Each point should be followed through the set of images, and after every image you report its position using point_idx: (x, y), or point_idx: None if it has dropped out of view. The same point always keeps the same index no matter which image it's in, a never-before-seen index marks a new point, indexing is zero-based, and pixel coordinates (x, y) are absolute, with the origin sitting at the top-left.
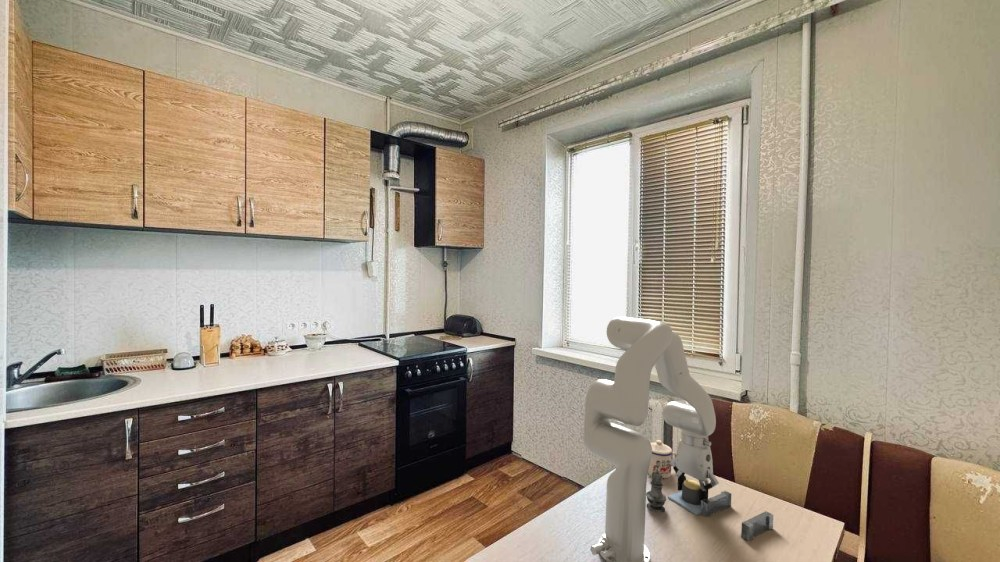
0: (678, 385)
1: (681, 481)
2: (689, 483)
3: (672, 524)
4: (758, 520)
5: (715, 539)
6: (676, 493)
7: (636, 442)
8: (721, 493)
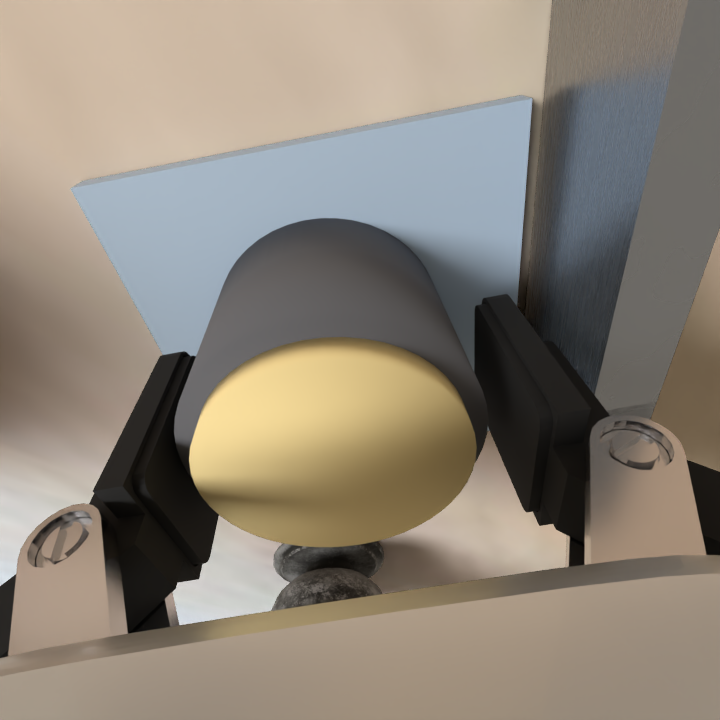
0: None
1: (201, 512)
2: (312, 500)
3: (487, 558)
4: None
5: (713, 465)
6: None
7: None
8: (691, 15)
